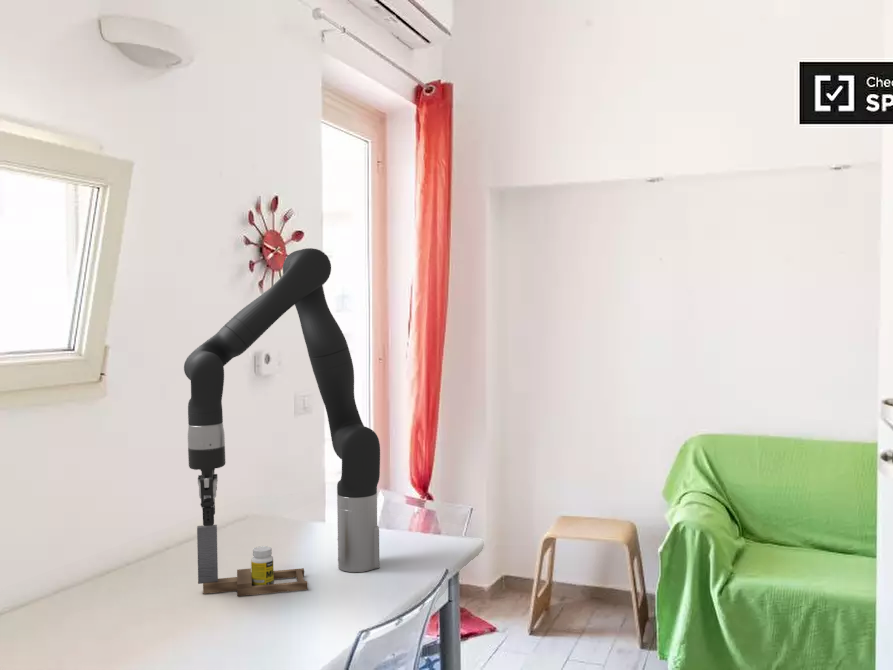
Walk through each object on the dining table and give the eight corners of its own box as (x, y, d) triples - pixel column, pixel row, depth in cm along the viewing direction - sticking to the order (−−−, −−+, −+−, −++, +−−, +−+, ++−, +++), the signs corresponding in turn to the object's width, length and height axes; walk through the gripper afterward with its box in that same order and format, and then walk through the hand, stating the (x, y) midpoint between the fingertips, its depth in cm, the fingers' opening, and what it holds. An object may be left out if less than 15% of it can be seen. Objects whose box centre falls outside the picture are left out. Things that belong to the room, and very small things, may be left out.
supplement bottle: (269, 591, 174) (268, 552, 174) (248, 590, 175) (247, 551, 174) (276, 583, 179) (276, 545, 178) (256, 582, 179) (255, 544, 179)
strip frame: (303, 574, 184) (302, 513, 183) (307, 589, 174) (306, 524, 173) (199, 584, 178) (198, 520, 177) (197, 600, 168) (196, 533, 168)
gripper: (224, 449, 167) (227, 527, 167) (225, 438, 180) (227, 510, 181) (186, 451, 165) (189, 530, 165) (189, 440, 178) (192, 513, 179)
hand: (209, 520), depth 173 cm, fingers open, 8 cm apart
